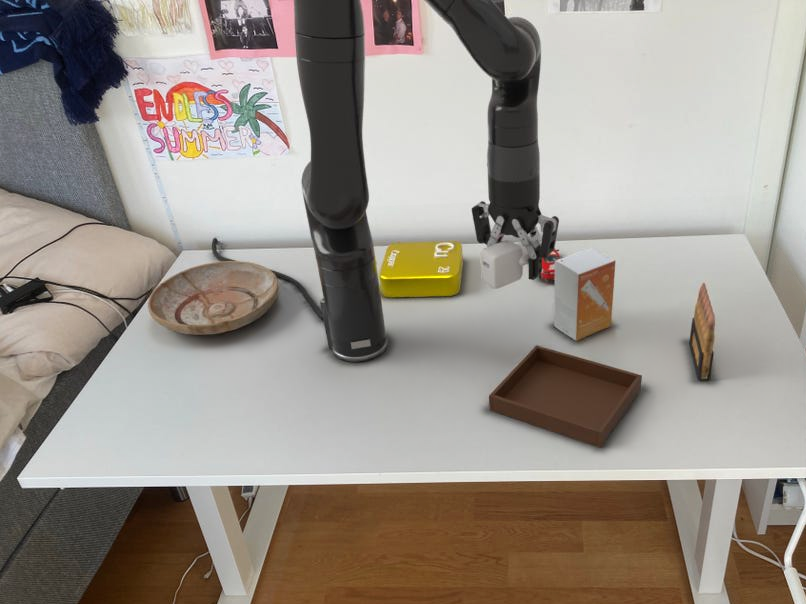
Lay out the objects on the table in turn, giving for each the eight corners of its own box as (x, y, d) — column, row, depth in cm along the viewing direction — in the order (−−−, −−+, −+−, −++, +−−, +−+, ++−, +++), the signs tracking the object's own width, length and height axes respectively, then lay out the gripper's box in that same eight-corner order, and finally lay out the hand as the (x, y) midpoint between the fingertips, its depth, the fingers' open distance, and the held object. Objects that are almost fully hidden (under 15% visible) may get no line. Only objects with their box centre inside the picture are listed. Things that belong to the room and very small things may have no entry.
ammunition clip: (688, 342, 130) (697, 279, 124) (700, 342, 130) (709, 279, 123) (697, 380, 122) (707, 315, 115) (710, 381, 121) (720, 315, 115)
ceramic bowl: (137, 352, 136) (128, 328, 133) (175, 286, 155) (168, 263, 152) (270, 344, 136) (264, 320, 133) (292, 279, 155) (287, 256, 152)
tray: (489, 410, 118) (488, 395, 117) (536, 359, 129) (536, 344, 127) (600, 447, 110) (601, 432, 108) (640, 389, 120) (642, 375, 119)
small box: (576, 342, 132) (578, 274, 125) (553, 326, 136) (553, 259, 129) (612, 326, 136) (616, 259, 128) (588, 311, 140) (591, 245, 133)
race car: (527, 255, 159) (526, 237, 157) (553, 252, 159) (553, 234, 157) (541, 286, 148) (541, 267, 146) (569, 283, 149) (569, 264, 146)
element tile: (390, 261, 160) (387, 239, 157) (463, 259, 159) (462, 237, 156) (380, 298, 147) (377, 276, 145) (459, 296, 146) (457, 274, 144)
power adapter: (532, 259, 127) (532, 226, 123) (552, 270, 123) (553, 236, 120) (477, 281, 121) (476, 247, 118) (496, 293, 118) (495, 258, 115)
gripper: (570, 169, 112) (567, 272, 121) (484, 153, 118) (488, 253, 128) (546, 187, 107) (545, 294, 116) (457, 170, 113) (463, 273, 123)
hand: (515, 272), depth 122 cm, fingers closed on power adapter, 6 cm apart
